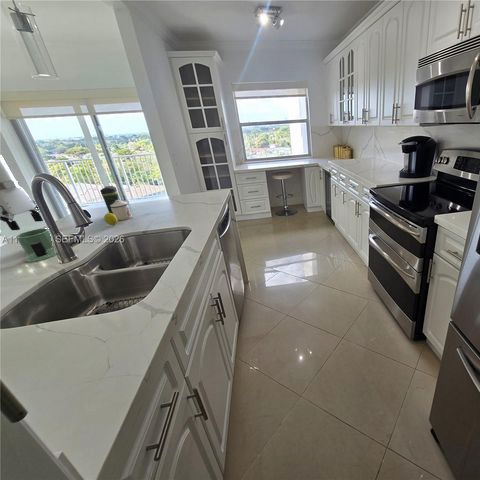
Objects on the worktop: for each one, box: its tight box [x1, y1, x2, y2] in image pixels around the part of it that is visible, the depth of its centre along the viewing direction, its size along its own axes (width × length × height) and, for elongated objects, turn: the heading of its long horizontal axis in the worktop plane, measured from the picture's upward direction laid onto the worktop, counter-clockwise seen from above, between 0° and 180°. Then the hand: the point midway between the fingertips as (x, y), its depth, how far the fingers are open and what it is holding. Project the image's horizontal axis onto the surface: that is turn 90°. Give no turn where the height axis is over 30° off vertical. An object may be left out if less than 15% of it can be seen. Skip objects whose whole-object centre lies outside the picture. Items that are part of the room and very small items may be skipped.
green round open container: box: [15, 227, 54, 254], centre depth 123 cm, size 11×11×8 cm
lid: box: [23, 241, 57, 263], centre depth 115 cm, size 12×12×7 cm
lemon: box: [103, 212, 118, 227], centre depth 147 cm, size 6×6×8 cm
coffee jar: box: [99, 185, 122, 214], centre depth 164 cm, size 10×8×19 cm
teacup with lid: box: [110, 200, 133, 221], centre depth 159 cm, size 12×9×12 cm
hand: (28, 225), depth 110 cm, fingers open, 9 cm apart
